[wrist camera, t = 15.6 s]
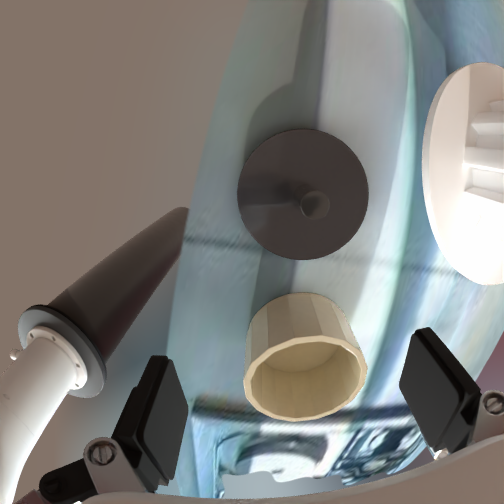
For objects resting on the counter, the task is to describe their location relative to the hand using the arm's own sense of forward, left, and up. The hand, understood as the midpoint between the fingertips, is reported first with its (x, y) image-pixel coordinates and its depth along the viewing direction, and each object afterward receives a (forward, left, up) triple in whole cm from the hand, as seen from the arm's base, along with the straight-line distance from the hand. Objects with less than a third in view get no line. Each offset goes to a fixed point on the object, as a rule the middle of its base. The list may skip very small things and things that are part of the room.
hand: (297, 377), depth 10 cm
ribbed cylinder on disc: (+26, +7, -21) cm, 34 cm away
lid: (+3, +4, -20) cm, 21 cm away
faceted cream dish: (+2, -13, -21) cm, 25 cm away
